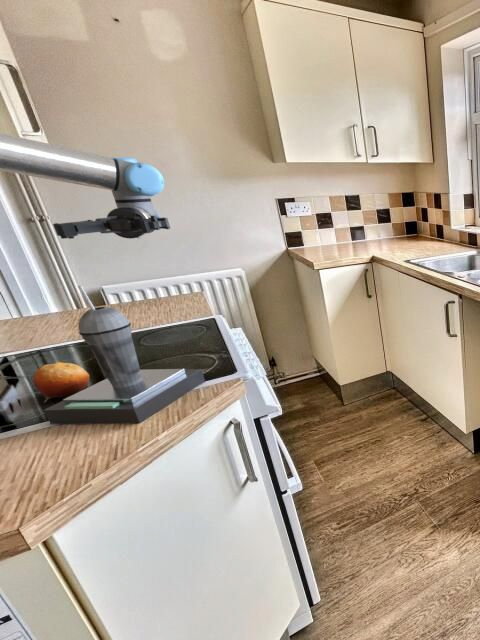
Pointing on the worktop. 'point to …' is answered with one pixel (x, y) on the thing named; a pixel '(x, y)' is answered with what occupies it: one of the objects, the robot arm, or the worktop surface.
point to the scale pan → (126, 388)
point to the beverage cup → (111, 343)
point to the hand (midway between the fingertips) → (103, 229)
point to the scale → (125, 412)
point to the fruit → (60, 380)
